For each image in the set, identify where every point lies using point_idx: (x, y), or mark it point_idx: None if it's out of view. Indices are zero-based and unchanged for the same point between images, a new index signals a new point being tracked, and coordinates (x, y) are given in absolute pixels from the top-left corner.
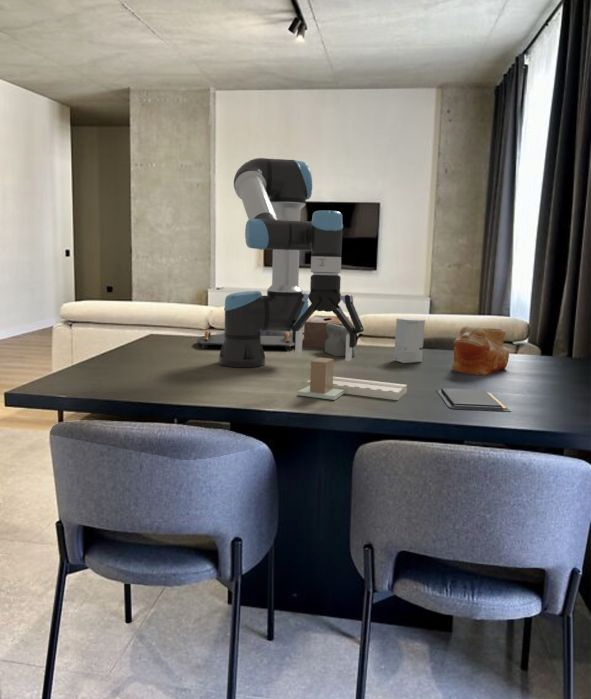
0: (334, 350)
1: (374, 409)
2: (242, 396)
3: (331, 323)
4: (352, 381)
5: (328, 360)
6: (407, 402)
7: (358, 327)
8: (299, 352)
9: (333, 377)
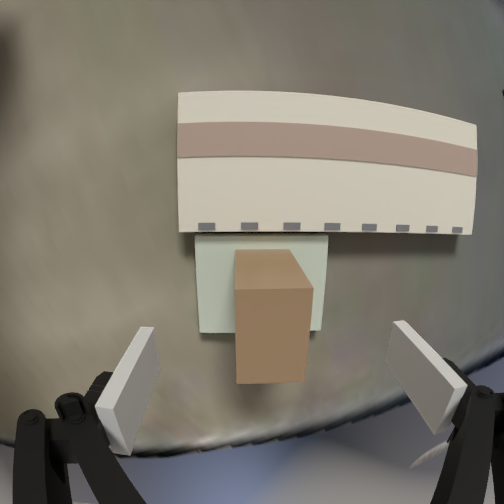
0: None
1: None
2: None
3: None
4: (334, 149)
5: (301, 336)
6: (475, 240)
7: (501, 440)
8: (154, 363)
9: (243, 107)
